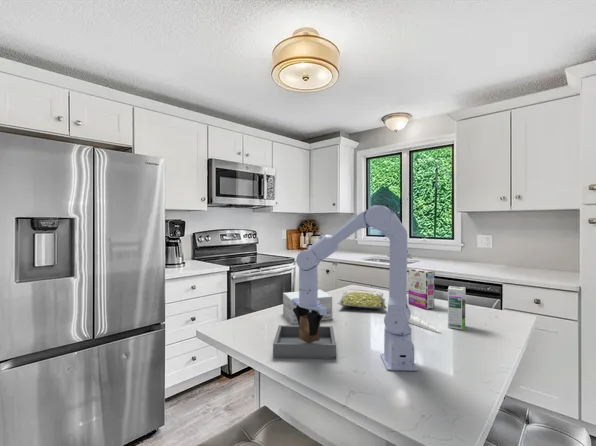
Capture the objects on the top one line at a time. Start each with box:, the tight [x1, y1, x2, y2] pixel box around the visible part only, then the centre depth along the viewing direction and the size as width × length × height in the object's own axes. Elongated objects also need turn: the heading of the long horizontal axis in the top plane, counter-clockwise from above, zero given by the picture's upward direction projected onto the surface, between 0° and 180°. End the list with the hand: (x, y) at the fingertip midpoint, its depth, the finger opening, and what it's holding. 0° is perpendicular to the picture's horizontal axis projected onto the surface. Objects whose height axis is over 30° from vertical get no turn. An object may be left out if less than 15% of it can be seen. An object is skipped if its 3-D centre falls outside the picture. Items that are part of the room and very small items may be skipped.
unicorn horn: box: [409, 313, 442, 334], centre depth 123 cm, size 5×24×5 cm, turn 24°
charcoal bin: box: [272, 324, 337, 360], centre depth 102 cm, size 16×18×4 cm
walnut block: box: [298, 315, 321, 343], centre depth 102 cm, size 4×4×7 cm
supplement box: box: [282, 289, 333, 325], centre depth 132 cm, size 17×13×9 cm
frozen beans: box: [337, 288, 388, 310], centre depth 150 cm, size 21×6×25 cm
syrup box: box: [447, 285, 466, 331], centre depth 120 cm, size 6×6×14 cm
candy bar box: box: [407, 267, 436, 310], centre depth 147 cm, size 11×5×16 cm, turn 25°
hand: (308, 332), depth 101 cm, fingers closed on walnut block, 4 cm apart
